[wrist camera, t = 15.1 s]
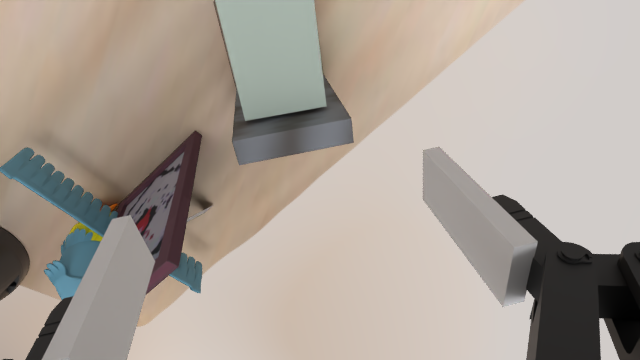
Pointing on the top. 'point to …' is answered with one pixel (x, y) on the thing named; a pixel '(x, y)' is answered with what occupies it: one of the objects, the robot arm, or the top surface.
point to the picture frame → (165, 207)
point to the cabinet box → (273, 55)
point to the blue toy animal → (88, 229)
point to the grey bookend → (290, 128)
